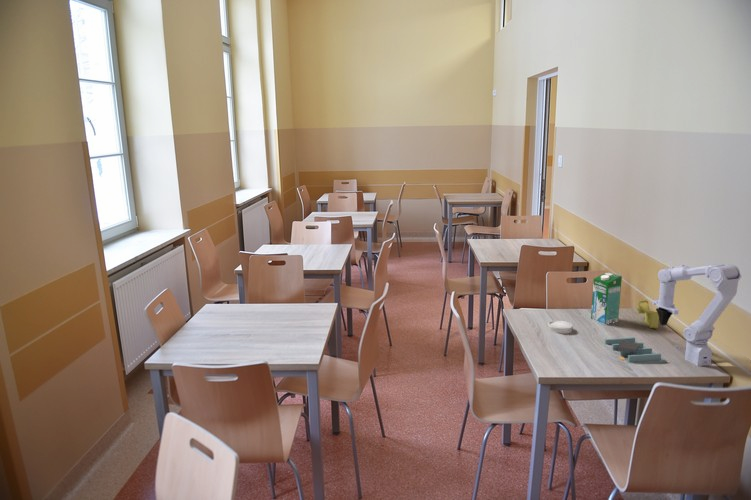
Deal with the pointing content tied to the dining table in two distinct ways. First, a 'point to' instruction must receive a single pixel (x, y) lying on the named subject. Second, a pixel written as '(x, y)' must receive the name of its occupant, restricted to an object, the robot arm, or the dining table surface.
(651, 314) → the plastic component
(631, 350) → the panel
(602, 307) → the milk carton
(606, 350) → the dining table surface
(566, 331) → the ramekin
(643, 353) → the slot rack
